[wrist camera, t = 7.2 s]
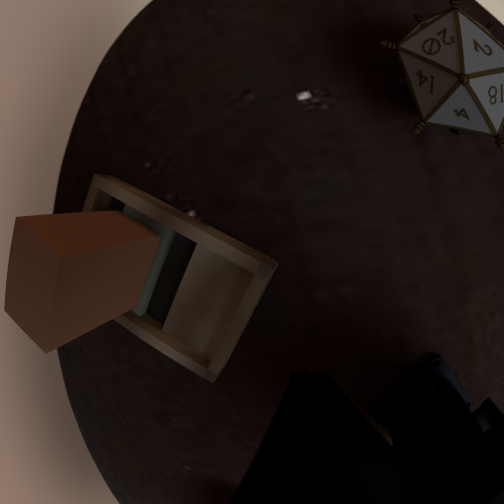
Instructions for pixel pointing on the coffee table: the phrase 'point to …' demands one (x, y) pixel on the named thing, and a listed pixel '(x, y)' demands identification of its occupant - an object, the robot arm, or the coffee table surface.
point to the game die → (454, 73)
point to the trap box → (187, 280)
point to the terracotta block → (75, 272)
